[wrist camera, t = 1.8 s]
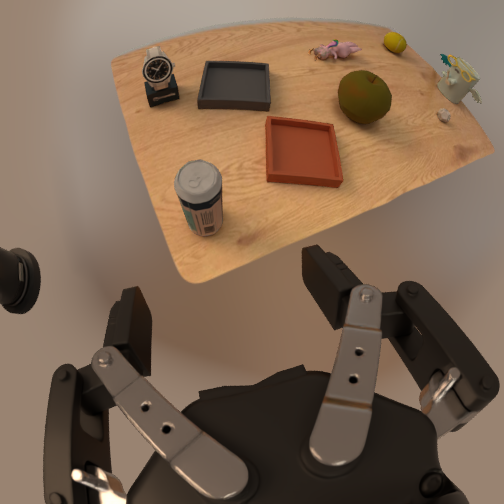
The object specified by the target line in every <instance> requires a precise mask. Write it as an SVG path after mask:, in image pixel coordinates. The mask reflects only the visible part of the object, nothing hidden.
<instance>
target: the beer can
mask: <svg viewBox="0 0 504 504" xmlns="http://www.w3.org/2000/svg"><path fill="white" fill-rule="evenodd" d="M174 187H175V191H176V193H177V195H178V198H179V201H180V204H181V206H182V209H183V212H184V214H185V217H186V220H187V222H188V225H189V228H190V229H191V230H192V232H194V233H195V234H197V235H200V236H209V235H212V234H214V233H216V232H217V231H218V230H219V229H220V227H221V225H222V222H223V208H222V176H221V173H220V172H219V170H218V169H217V168H216V167H215V166H214V165H213V164H212V163H209V162H206V161H204V160H201V159H200V160H195V161H189V162H187V163H186V164H185V165H184V166H183V167H182V168H181V169H179V171H178V173H177V175H176V177H175V181H174Z"/></svg>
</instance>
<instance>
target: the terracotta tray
mask: <svg viewBox="0 0 504 504" xmlns="http://www.w3.org/2000/svg"><path fill="white" fill-rule="evenodd" d="M265 130H266V175H267V182H281V183H294V184H306V185H317V186H327V187H336V188H338V187H339V186H340V185H341V183H342V182H343V175H342V168H341V162H340V157H339V151H338V146H337V141H336V136H335V131H334V126H333V124H328V123H321V122H315V121H308V120H300V119H292V118H283V117H273V116H267V119H266V124H265Z"/></svg>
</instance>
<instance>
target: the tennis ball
mask: <svg viewBox="0 0 504 504" xmlns="http://www.w3.org/2000/svg"><path fill="white" fill-rule="evenodd" d="M384 44H385V46H386V47H387V48H388V49H389V50H390V51H392V52H395V53H400V52H403V51H404V50H405V48H406V45H407V44H406V40H405V39H404V37H403V36H401V35H400V34H398V33H395V32H390V33H388V34H386V36H385V37H384Z"/></svg>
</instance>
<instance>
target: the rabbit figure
mask: <svg viewBox="0 0 504 504" xmlns="http://www.w3.org/2000/svg"><path fill="white" fill-rule="evenodd" d="M320 46H321V47H318V48H316V49H314V48H313V49H312V50H313V51H314V54H315V55H316V56H315V59H316V60H317V57H318V56H319V58H320V59H322V60H324V59H326V58H327V57H328V56H332V55H334V56H335V57H334V58H335V59H337V57H341V58H345V57H347V56H348V55H349V54H350V53H354V52H357V51H360V50H362V49H361V48H358V46H357V45H356V44H354V43H352V42H344V43H338V40H336V39H334V40H333V42H331V43H330V44H328V45H327V46H324V45H322V44H320ZM330 47H332V49H331V48H330ZM312 50H310V51H309V53H310V55H311V51H312Z"/></svg>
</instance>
